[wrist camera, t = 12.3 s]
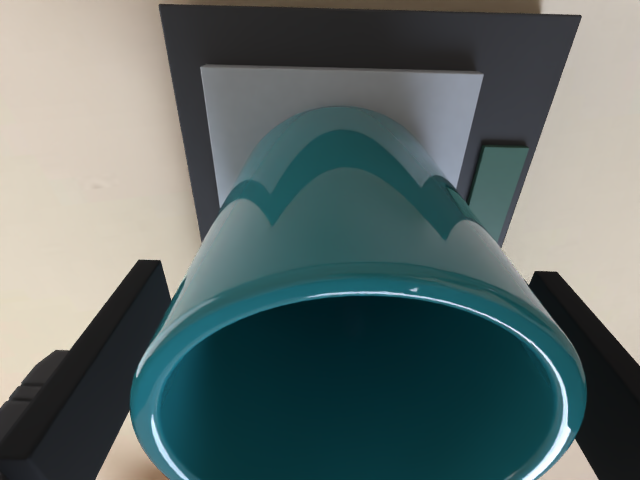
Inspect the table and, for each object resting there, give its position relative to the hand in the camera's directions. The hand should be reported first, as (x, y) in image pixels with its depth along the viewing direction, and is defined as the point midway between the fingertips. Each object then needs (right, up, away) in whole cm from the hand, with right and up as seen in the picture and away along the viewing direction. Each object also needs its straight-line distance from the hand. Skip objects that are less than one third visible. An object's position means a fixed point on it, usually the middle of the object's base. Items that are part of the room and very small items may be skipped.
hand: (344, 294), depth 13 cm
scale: (+1, +5, +8) cm, 9 cm away
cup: (0, +3, +5) cm, 5 cm away
